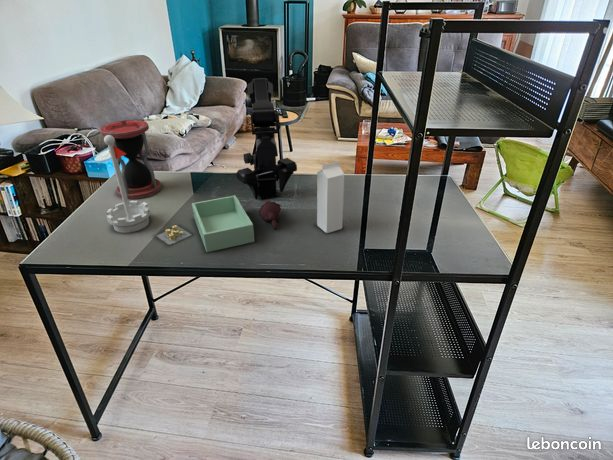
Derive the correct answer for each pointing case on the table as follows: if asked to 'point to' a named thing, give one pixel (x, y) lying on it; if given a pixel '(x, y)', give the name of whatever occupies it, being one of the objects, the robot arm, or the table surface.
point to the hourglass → (133, 157)
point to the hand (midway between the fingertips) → (268, 195)
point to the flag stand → (125, 200)
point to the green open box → (222, 223)
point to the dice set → (173, 235)
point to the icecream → (270, 212)
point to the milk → (330, 197)
